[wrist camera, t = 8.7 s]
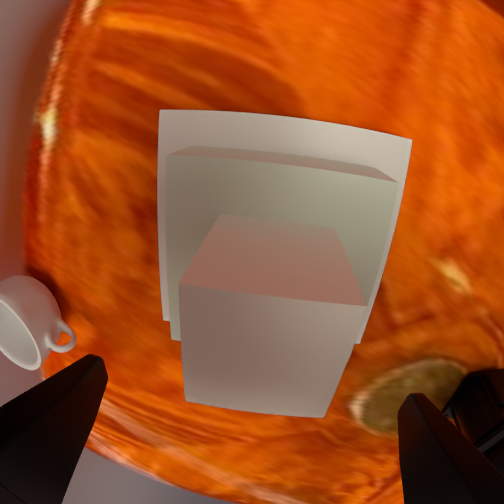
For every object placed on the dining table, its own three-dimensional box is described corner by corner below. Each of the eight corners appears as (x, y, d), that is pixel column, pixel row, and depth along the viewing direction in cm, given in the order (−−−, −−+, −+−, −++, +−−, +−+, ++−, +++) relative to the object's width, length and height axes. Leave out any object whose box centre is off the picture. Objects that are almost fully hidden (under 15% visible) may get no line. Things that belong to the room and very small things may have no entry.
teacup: (22, 320, 25) (-8, 349, 21) (8, 254, 22) (-30, 281, 17) (97, 353, 25) (69, 393, 20) (89, 283, 22) (50, 322, 17)
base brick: (339, 319, 20) (348, 360, 16) (189, 301, 20) (171, 339, 17) (374, 167, 16) (398, 182, 12) (191, 145, 16) (166, 154, 13)
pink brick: (314, 321, 15) (323, 417, 10) (215, 309, 16) (185, 400, 10) (335, 227, 13) (366, 306, 8) (220, 213, 14) (178, 283, 8)
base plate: (357, 335, 22) (359, 343, 21) (167, 312, 22) (163, 320, 21) (405, 138, 16) (412, 139, 15) (165, 109, 16) (159, 109, 16)
